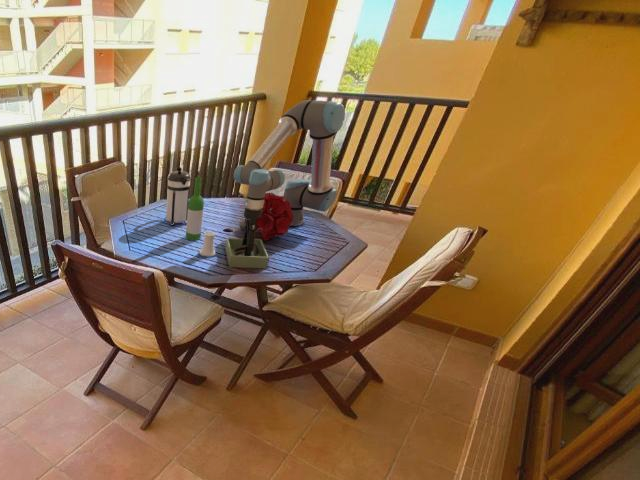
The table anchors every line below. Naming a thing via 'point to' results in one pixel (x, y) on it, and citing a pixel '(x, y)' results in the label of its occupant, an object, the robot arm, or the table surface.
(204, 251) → the salt shaker
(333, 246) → the table surface
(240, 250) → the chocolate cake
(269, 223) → the bouquet
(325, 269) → the table surface
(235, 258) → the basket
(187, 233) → the wine bottle
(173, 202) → the coffee press
